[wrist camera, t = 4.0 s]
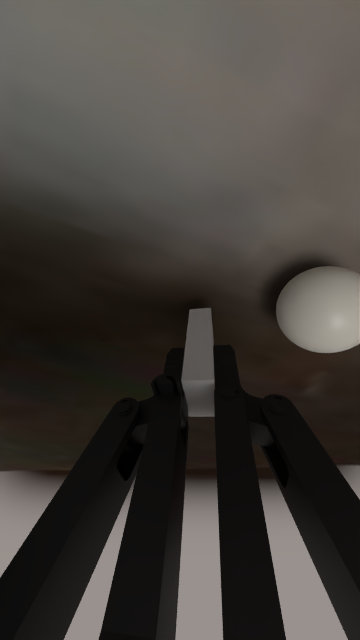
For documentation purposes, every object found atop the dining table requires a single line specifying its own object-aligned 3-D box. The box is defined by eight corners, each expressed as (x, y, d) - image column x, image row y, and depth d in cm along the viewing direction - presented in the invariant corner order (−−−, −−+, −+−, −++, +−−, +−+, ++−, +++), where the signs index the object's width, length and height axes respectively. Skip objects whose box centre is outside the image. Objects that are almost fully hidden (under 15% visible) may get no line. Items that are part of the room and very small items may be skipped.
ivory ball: (253, 285, 16) (274, 327, 12) (329, 237, 14) (391, 266, 10) (286, 332, 18) (314, 383, 14) (357, 297, 16) (418, 344, 12)
